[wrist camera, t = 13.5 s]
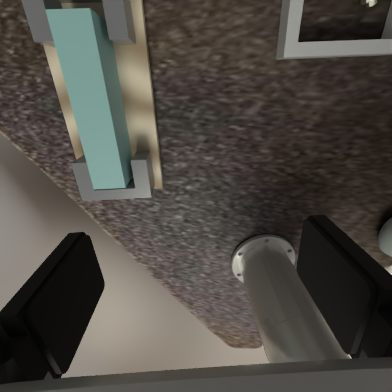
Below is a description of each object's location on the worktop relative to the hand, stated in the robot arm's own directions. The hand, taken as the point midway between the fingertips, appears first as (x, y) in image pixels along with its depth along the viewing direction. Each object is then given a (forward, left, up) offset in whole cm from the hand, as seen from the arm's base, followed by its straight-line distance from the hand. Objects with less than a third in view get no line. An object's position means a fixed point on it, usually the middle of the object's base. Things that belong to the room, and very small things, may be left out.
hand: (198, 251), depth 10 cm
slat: (+4, +10, -25) cm, 27 cm away
